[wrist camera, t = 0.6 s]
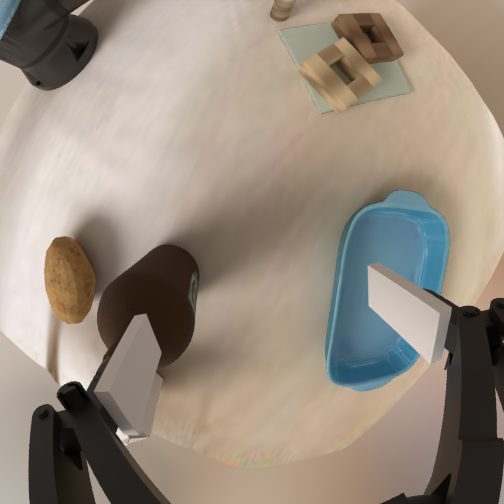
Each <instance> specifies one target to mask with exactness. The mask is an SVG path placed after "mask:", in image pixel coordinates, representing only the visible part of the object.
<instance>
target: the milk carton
mask: <svg viewBox="0 0 504 504" xmlns="http://www.w3.org/2000/svg"><path fill="white" fill-rule="evenodd" d="M162 382H163V379H162V378H161V377H160V376H159V375H158V374H157V373H155V377H154V380H153V384H152V388H151V391H150V395H149V399H148V402H147V406H146V410H145V414H144V418H143V422H142V426H141V430H140V434H139V435H124V434H123V433H122V432H121V430H120V429H119V428H118V429H117V432H116V434H117V435H118V437H119V438H120V439H121V441H122V442H123V444H124V445H128V444H129V443H132V442H135V441H139V440H142V439H145V438H149V437H150V434H151V429H152V425H153V420H154V416H155V411H156V407H157V403H158V399H159V395H160V390H161V386H162Z"/></svg>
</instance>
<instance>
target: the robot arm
mask: <svg viewBox="0 0 504 504" xmlns="http://www.w3.org/2000/svg"><path fill="white" fill-rule="evenodd" d="M88 1H89V0H0V60H2V61H5V62H7V63H9V64H11V65H14V66H16V67H18V68H20V69H21V70H22V72H23V73H24V74H25V76H26V78H27V79H28V80H29V82H30V83H31V84H32V85H33V86H35V87H37V88H39V89H41V90H53V89H56V88H59V87H61V86H63V85H65V84H66V83H68V82H69V81H70V80H72V79H73V78H74V77H75V76H76V75H77V74H78V73H79V72H80V71H81V70H82V69H83V68H84V67H85V65H86V64H87V63H88V61H89V60H90V58H91V56H92V55H93V53H94V50H95V48H96V45H97V40H98V33H97V30H96V28H95V26H94V25H93V24H92V23H91V22H90V21H89V20H87V19H86V18H83V17H80V16H76V15H73V14H70V13H71V12H73V11H74V10H75V9H77V8H79V7H80V6H82V5H83V4H85V3H86V2H88ZM368 296H369V307H370V308H372V309H373V310H374V311H375V312H376V313H377V314H378V315H379V316H380V317H381V318H382V319H383V320H384V321H386V322H387V323H388V324H389V325H390V326H391V327H392V328H393V329H394V330H395V331H396V332H397V333H398V334H399V335H400V336H401V337H403V338H404V339H405V340H406V341H407V342H408V343H409V344H410V345H411V346H412V347H413V348H414V349H415V350H416V351H417V352H418V353H419V354H420V355H421V356H422V357H423V358H424V359H425V360H426V361H427V362H428V363H429V364H432V363H434V362H436V361H437V360H439V359H441V358H442V355H443V351H444V348H446V349H447V350H448V351H449V354H448V358H447V362H446V365H445V370H446V369H447V383H446V398H445V407H444V415H443V423H442V429H441V436H440V441H439V447H438V452H437V456H436V461H435V465H434V469H433V473H432V477H431V479H430V482H429V484H428V486H427V488H426V490H425V492H424V495H418V496H412V497H407V498H406V496H405V494H404V493H402V494H400V495H398V496H396V497H394V498H392V499H390V500H388V501H386V502H383V503H381V504H498V502H499V497H500V491H501V484H502V476H503V464H504V440H503V439H502V438H498V437H497V412H496V396H495V395H496V394H495V388H496V391H497V393H498V396H499V399H500V402H501V405H502V408H503V411H504V343H503V340H504V298H496V299H493V300H492V301H491V304H490V309H489V310H485V311H480V310H479V309H478V308H477V307H474V306H463V307H458V306H456V305H455V304H453V303H452V302H450V301H449V300H447V299H444V297H442V296H439V294H437V293H436V292H434V291H432V290H429V289H425V288H424V289H422V288H420V287H419V286H417V285H415V284H414V283H412V282H410V281H409V280H407V279H406V278H404V277H402V276H401V275H399V274H397V273H396V272H394V271H392V270H390V269H389V268H387V267H385V266H384V265H382V264H380V263H374V264H370V265H368ZM161 353H162V352H161V350H160V347H159V345H158V342H157V340H156V338H155V335H154V333H153V330H152V327H151V325H150V322H149V320H148V317H147V314H141V315H135V316H134V318H133V319H132V321H131V323H130V324H129V326H128V328H127V330H126V331H125V333H124V335H123V337H122V339H121V340H120V342H119V344H118V346H117V348H116V350H115V351H114V353H113V355H112V357H111V359H110V361H105V362H104V363H103V364H102V365H101V366H100V367H99V368H98V370H97V372H96V375H95V376H94V378H93V380H92V381H91V383H90V385H89V387H88V389H87V391H85V389H84V388H83V386H82V385H81V383H80V382H76V381H74V382H69V383H66V384H65V385H63V386H62V387H61V388H60V389H59V390H58V392H57V398H58V400H59V401H60V402H61V404H62V405H63V406H64V408H65V409H66V410H63V411H59V412H56V411H55V409H54V408H53V407H52V406H51V405H49V404H45V405H42V406H40V407H38V408H37V409H36V410H35V411H34V413H33V416H32V424H31V432H30V444H29V500H30V504H96V503H95V499H94V495H93V491H92V486H91V482H90V477H89V472H88V466H87V461H88V463H89V465H90V467H91V469H92V471H93V473H94V475H95V477H96V478H97V480H98V482H99V484H100V486H101V488H102V489H103V491H104V493H105V494H106V496H107V498H108V499H109V501H110V503H111V504H171V503H170V502H169V501H168V500H167V499H166V498H165V496H164V495H163V494H162V493H161V492H160V491H159V490H158V488H157V487H156V486H155V485H154V484H153V483H152V481H151V480H150V479H149V478H148V477H147V475H146V474H145V473H144V471H143V470H142V469H141V467H140V466H139V465H138V463H137V462H136V461H135V459H134V458H133V457H132V455H131V454H130V453H129V451H128V450H127V448H126V447H125V445H124V444H123V442H122V441H121V439H120V438H119V437H118V435H117V434H116V432H117V429H118V428H119V429H120V430H121V432H122V433H123V434H124V435H139V434H140V430H141V426H142V422H143V418H144V414H145V410H146V406H147V402H148V399H149V395H150V391H151V388H152V384H153V380H154V377H155V373H156V370H157V367H158V363H159V360H160V356H161ZM86 459H87V461H86Z"/></svg>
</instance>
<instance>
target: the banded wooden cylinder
mask: <svg viewBox="0 0 504 504" xmlns="http://www.w3.org/2000/svg"><path fill="white" fill-rule="evenodd" d="M295 1H296V0H275V1H274V4H273V7H272V10H271V13H270V15H271V17H272V18H273V19H274V20H276V21H285V20H287V18H288V16H289V14H290V12H291V9H292V7H293V5H294V3H295Z"/></svg>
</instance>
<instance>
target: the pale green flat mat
mask: <svg viewBox="0 0 504 504" xmlns="http://www.w3.org/2000/svg"><path fill="white" fill-rule="evenodd" d="M331 24H332V23H323V24H315V25H307V26H301V27H295V28H289V29H284V30H280V31H279V33H278V34H279V36H280V37H281V39H282V41H283V43H284V45H285V46H286V48H287V50H288V52H289V54H290V55H291V57H292V59H293V61H294V63H295V65H296V67H297V69H299V68H300V67H301V65H302V64H303V63H304V61H306V60H307V59H309V58H310V57H312V56H313V55H315V54H316V53H318V52H320V51H321V50H323V49H324V48H326V47H328V46H329V45H331V44H333V43H334V42H336V41H338V40H339V38H338V36H337V35H336V33H335V31H334V30H333V28H332V26H331ZM365 36H366V38H367V40H368V41H369V43H370V44H372V43H371V41H370V39H369V38H368V36H367V34H366V33H365ZM369 65H370V66H371V67H372V68H373V69H374V71H375V72H376V73H377V74H378V75H379V77H380V78H381V79H382V81H381V82H380V83H378V84H377V85H376V86H374V87H373V88H372V89H371V90H369V91H368V92H367V93H365V94H364V95H363V96H362V97H360V98H359V99H358V100H357V101H355V102H354V103H353V104H352V105H350V106H353V105H357V104H361V103H365V102H369V101H374V100H378V99H383V98H388V97H393V96H398V95H403V94H409V93H411V92H412V91H411V88H410V86H409V84H408V81H407V79H406V77H405V75H404V73H403V71H402V69H401V67H400V65H399V63H398V61H397V59H396V60H394V61H392V62H383V63H375V64H369ZM330 68H331V69H332V70H333V71H334V72H335V73H336V74H337V75H338V76H339V78H340V79H341V80H342V81H343V82H344V83H345V84H346V85H348V84H349V83H351V81H350V80H349V79H348V77H347V76H346V75H345V74H344V73H343V72H342V71H341V70H340V69H339V68H338V66H337V65H336V64H335V65H333V66H332V67H330ZM300 75H301V74H300ZM301 77H302V79H303V81H304V83H305V85H306V87H307V89H308V91H309V93H310V95H311V97H312V99H313V101H314V104H315V106H316V108H317V110H318V113H319V115H320V114H323V113H327V112H330V111H334V110H333V109H332V108H331V107H330V106H329V104H328V103H327V102H326V101H325V100H324V99H323V98H322V97H321V95H320V94H319V93H318V92H317V91H316V90H315V89H314V88H313V87H312V86H311V85H310V84H309V83H308V82H307V81H306V80H305V78H304V77H303V76H302V75H301Z"/></svg>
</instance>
